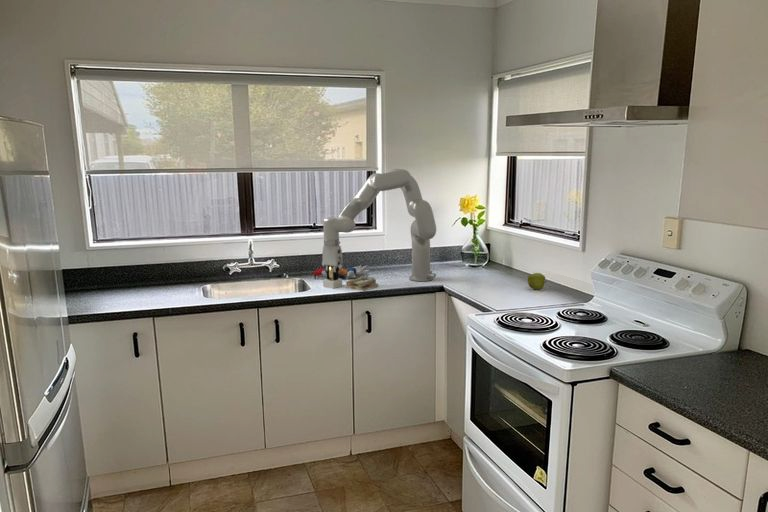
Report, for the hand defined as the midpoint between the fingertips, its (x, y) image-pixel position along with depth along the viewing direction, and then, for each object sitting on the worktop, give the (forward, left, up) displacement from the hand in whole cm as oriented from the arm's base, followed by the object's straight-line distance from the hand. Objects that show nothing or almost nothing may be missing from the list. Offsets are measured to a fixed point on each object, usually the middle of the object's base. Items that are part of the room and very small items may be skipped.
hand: (332, 278), depth 282 cm
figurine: (+8, -17, -4) cm, 19 cm away
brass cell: (0, 0, -1) cm, 1 cm away
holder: (0, 0, -4) cm, 4 cm away
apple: (-86, -50, -4) cm, 100 cm away
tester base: (-13, -7, -4) cm, 15 cm away
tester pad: (-13, -7, -2) cm, 15 cm away
